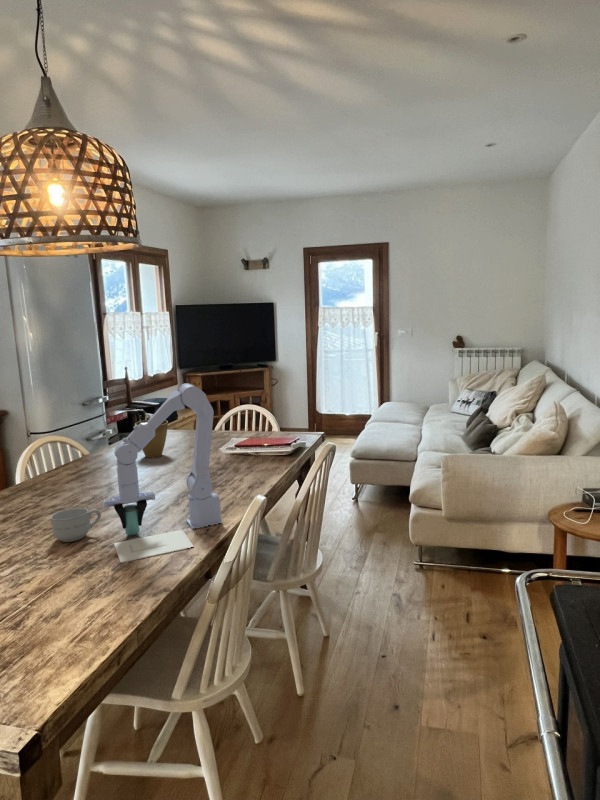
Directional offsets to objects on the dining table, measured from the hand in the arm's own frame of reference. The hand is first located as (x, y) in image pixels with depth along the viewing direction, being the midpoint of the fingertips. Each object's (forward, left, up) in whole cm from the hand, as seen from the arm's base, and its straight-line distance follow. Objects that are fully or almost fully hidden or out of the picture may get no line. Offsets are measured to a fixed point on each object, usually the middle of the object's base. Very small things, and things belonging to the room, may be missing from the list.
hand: (132, 526), depth 168 cm
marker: (0, 0, -3) cm, 3 cm away
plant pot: (-24, -93, -3) cm, 96 cm away
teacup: (+15, -7, -3) cm, 17 cm away
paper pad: (-4, +11, -3) cm, 12 cm away
